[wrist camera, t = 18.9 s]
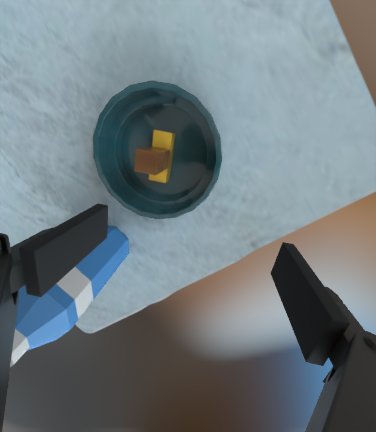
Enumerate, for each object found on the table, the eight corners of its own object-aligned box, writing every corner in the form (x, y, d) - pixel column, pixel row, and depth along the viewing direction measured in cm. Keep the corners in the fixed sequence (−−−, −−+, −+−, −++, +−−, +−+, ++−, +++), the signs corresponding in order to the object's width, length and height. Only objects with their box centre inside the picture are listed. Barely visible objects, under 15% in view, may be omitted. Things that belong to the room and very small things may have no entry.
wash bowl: (114, 82, 33) (92, 70, 27) (232, 102, 32) (236, 94, 26) (111, 195, 41) (93, 205, 35) (207, 215, 40) (206, 229, 33)
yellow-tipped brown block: (158, 130, 34) (137, 127, 25) (175, 133, 34) (160, 131, 25) (153, 176, 37) (132, 189, 28) (169, 179, 37) (153, 193, 28)
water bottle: (82, 230, 45) (-63, 329, 21) (118, 219, 42) (2, 317, 19) (101, 265, 47) (-9, 387, 24) (136, 256, 45) (52, 381, 22)
